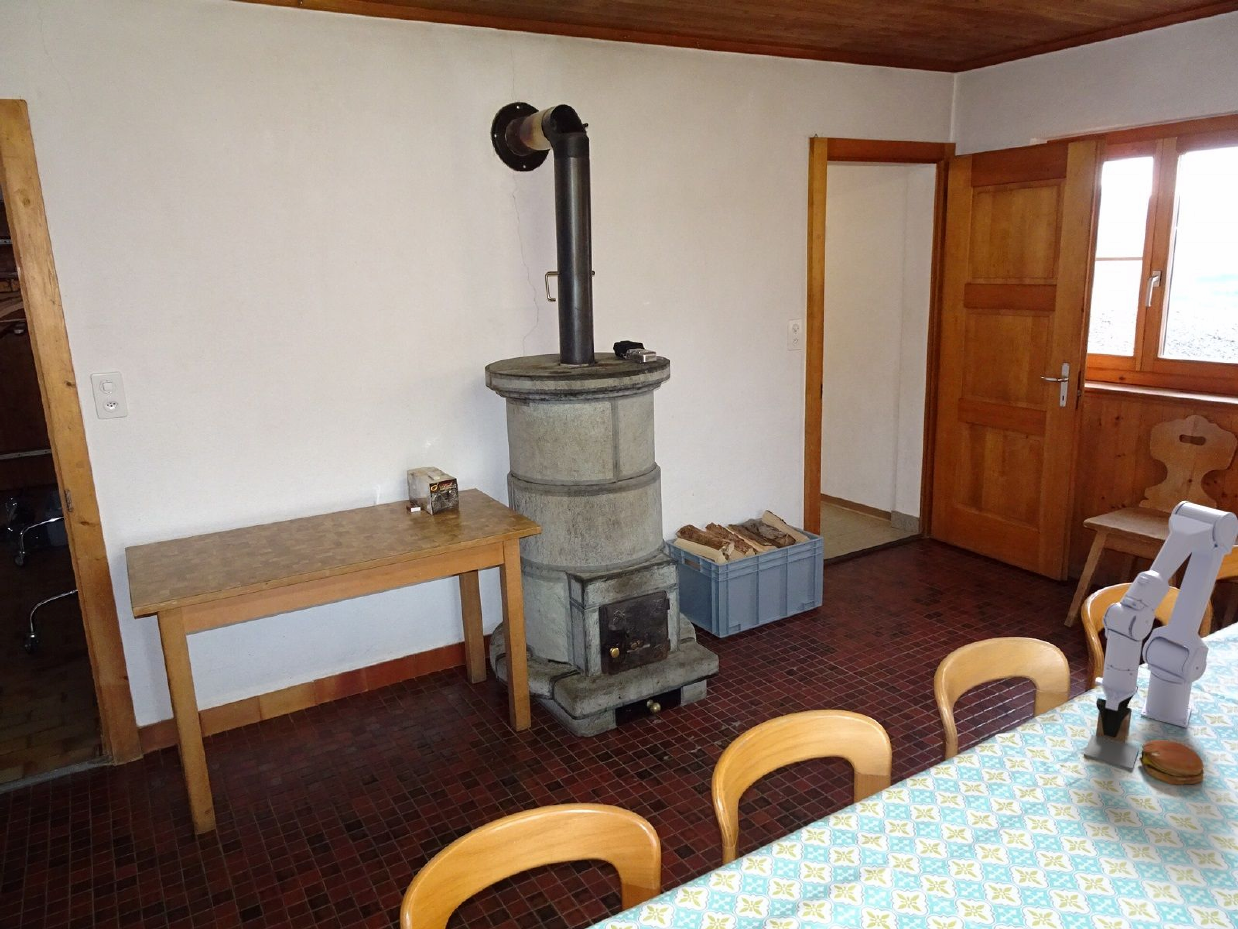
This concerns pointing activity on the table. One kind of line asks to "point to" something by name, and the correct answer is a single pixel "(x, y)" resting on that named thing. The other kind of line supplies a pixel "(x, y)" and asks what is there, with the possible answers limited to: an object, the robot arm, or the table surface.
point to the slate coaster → (1111, 752)
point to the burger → (1172, 762)
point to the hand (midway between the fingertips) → (1113, 726)
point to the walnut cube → (1122, 731)
